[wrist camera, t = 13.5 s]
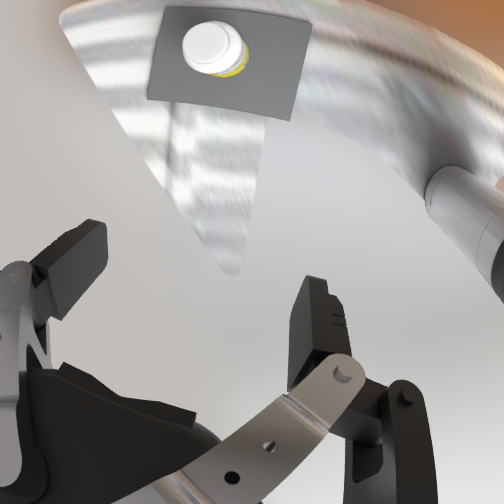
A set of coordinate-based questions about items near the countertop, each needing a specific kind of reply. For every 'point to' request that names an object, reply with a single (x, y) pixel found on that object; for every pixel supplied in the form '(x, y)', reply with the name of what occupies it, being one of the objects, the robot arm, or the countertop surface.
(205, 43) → the supplement bottle
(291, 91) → the mat
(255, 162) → the countertop surface
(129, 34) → the countertop surface
